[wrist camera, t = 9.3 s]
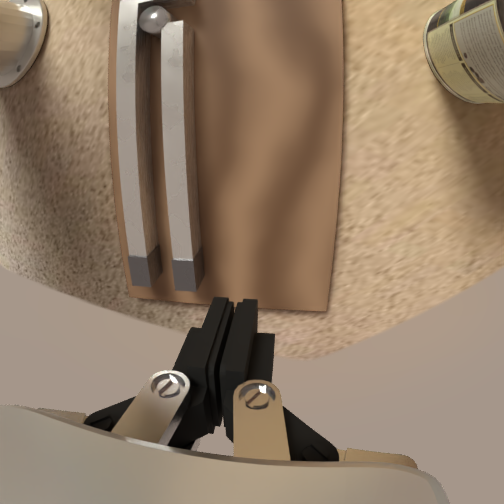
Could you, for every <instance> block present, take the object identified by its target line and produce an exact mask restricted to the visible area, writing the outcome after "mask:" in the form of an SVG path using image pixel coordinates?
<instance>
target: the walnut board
mask: <svg viewBox="0 0 504 504" xmlns="http://www.w3.org/2000/svg"><path fill="white" fill-rule="evenodd" d="M119 6H120V0H112V9H111V21H110V37H109V63H108V110H109V137H110V154H111V168H112V179H113V190H114V199H115V208H116V217H117V224H118V232H119V239H120V246H121V252H122V258H123V264H124V270H125V276H126V282H127V287H128V292H129V297H134V298H143V299H153V300H163V301H173V302H184V303H196V304H208V305H211V303H212V300H213V298H214V297H228V298H229V301H233V302H234V307H236V306H237V302H243V299H258V308H266V309H284V310H305V311H326V310H327V302H328V295H329V287H330V279H331V271H332V262H333V253H334V244H335V233H336V223H337V211H338V199H339V185H340V170H341V151H342V127H343V22H342V1H341V0H195V5H193V6H186V7H179V8H172V9H166V10H167V11H168V12H169V13H170V14H172V15H173V16H174V17H176V18H177V19H178V21H182V20H183V21H185V22H186V23H187V24H188V25H189V26H191V27H192V28H193V29H194V104H195V138H196V162H197V183H198V201H199V217H200V232H201V245H202V247H203V258H204V271H205V276H204V278H203V280H202V282H201V284H200V286H199V288H198V290H197V292H191V291H176V290H175V285H174V278H173V270H172V262H171V260H172V258H173V254H172V245H171V236H170V226H169V216H168V204H167V192H166V179H165V165H164V148H163V127H162V97H161V39H160V38H158V37H156V36H154V35H152V34H151V43H150V127H151V152H152V171H153V186H154V199H155V211H156V222H157V233H158V242H159V244H160V252H161V261H162V269H163V273H162V274H161V275H160V276H159V278H158V279H157V280H156V282H155V283H154V284H153V286H152V287H142V286H132V281H131V275H130V269H129V263H128V256H129V250H128V243H127V236H126V228H125V220H124V211H123V202H122V193H121V182H120V170H119V156H118V138H117V111H116V61H117V35H118V19H119Z"/></svg>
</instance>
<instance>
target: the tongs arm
mask: <svg viewBox="0 0 504 504" xmlns="http://www.w3.org/2000/svg"><path fill="white" fill-rule="evenodd" d="M139 25H140V27H141V28H142V29H143V30H144V31H146V32H148V33H150V34H152V35H154V36H156V37H158V38H160V39H161V97H162V127H163V148H164V165H165V179H166V192H167V204H168V216H169V226H170V236H171V245H172V254H173V258H172V260H171V262H172V270H173V278H174V285H175V290H176V291H191V292H197V290H198V288H199V286H200V284H201V282H202V280H203V278H204V276H205V271H204V258H203V247H202V245H201V232H200V217H199V201H198V183H197V162H196V138H195V104H194V29H193V28H192V27H191V26H189V25H188V24H187V23H186V22H185V21H183V20H182V21H178V19H177V18H176V17H174V16H173V15H172V14H170V13H169V12H168V11H167V10H165V9H164V8H162V7H160V6H152V7H149V8H147V9H146V10H145V11H144V12H143V13H142V14H141V16H140V19H139Z"/></svg>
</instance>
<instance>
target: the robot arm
mask: <svg viewBox="0 0 504 504" xmlns="http://www.w3.org/2000/svg"><path fill="white" fill-rule="evenodd" d="M46 28H47V10H46V6H45V4H44V2H43V0H10V1H9V2H8V1H3V0H0V88H5V87H9V86H11V85H13V84H15V83H16V82H17V81H19V80H20V79H21V78H22V77H23V76H24V75H25V74H26V72H27V71H28V70H29V69H30V67H31V66H32V64H33V62H34V61H35V59H36V57H37V55H38V53H39V51H40V49H41V46H42V43H43V41H44V37H45V33H46ZM257 324H258V299H243V302H237V306H236V309H235V313H234V302H233V301H229V298H228V297H214V298H213V300H212V303H211V305H210V308H209V310H208V313H207V315H206V318H205V320H204V323H203V325H202V328H194V327H192V328H191V329H190V330H189V333H188V335H187V337H186V339H185V342H184V344H183V346H182V349H181V351H180V353H179V356H178V358H177V360H176V362H175V365H174V367H173V369H172V370H166V371H161V372H158V373H156V374H154V375H152V376H151V378H149V380H148V381H147V382H146V384H145V385H144V386H143V388H142V389H141V391H140V392H139V393H138V395H137V396H135V397H133V398H130V399H128V400H125V401H123V402H120V403H118V404H115V405H112V406H110V407H108V408H105V409H102V410H99V411H97V412H95V413H93V414H91V415H89V416H86V414H85V413H79V412H69V411H61V410H52V409H44V408H38V409H34V408H30V407H26V406H19V405H0V504H450V502H449V500H448V497H447V495H446V492H445V491H444V489H443V487H442V485H441V484H440V482H439V481H438V480H437V479H436V478H435V477H433V476H432V475H430V474H428V473H426V472H424V471H421V470H418V468H417V464H416V463H415V461H414V460H413V459H411V458H410V457H408V456H405V455H400V454H390V453H381V452H372V451H364V450H358V449H351V448H347V450H346V451H345V450H339V449H336V448H335V447H334V446H333V445H332V444H331V443H330V442H329V441H327V440H326V439H325V438H323V437H322V436H321V435H319V434H318V433H317V432H315V431H314V430H313V429H312V428H310V427H309V426H308V425H306V424H305V423H304V422H302V421H301V420H300V419H299V418H297V417H296V416H295V415H294V414H292V413H291V412H290V411H289V410H287V409H286V408H285V407H284V406H282V400H281V394H280V391H279V389H278V388H277V387H276V386H275V385H274V384H272V383H271V382H272V371H273V358H274V343H275V334H270V333H257ZM222 417H223V419H224V427H226V436H227V437H228V438H229V439H230V440H231V441H232V442H233V443H234V456H226V455H218V454H210V453H203V452H197V448H198V446H199V444H200V438H201V437H203V436H204V435H206V434H208V433H210V434H213V433H214V429H215V426H219V427H220V425H221V422H222Z"/></svg>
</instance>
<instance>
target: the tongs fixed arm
mask: <svg viewBox="0 0 504 504" xmlns="http://www.w3.org/2000/svg"><path fill="white" fill-rule="evenodd" d="M193 5H195V0H120V6H119V19H118V35H117V61H116V111H117V138H118V156H119V170H120V182H121V193H122V202H123V211H124V220H125V228H126V236H127V243H128V250H129V256H128V263H129V269H130V275H131V281H132V286H142V287H152V286H153V284H154V283H155V282H156V280H157V279H158V278H159V276H160V275H161V274H162V273H163V269H162V261H161V252H160V244H159V242H158V233H157V222H156V211H155V199H154V186H153V171H152V152H151V127H150V43H151V34H150V33H148V32H146V31H144V30H143V29H142V28H141V27H140V25H139V19H140V16H141V14H142V13H143V12H144V11H145V10H146V9H147V8H149V7H152V6H160V7H162V8H164V9H165V10H166V9H172V8H179V7H186V6H193Z"/></svg>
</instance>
